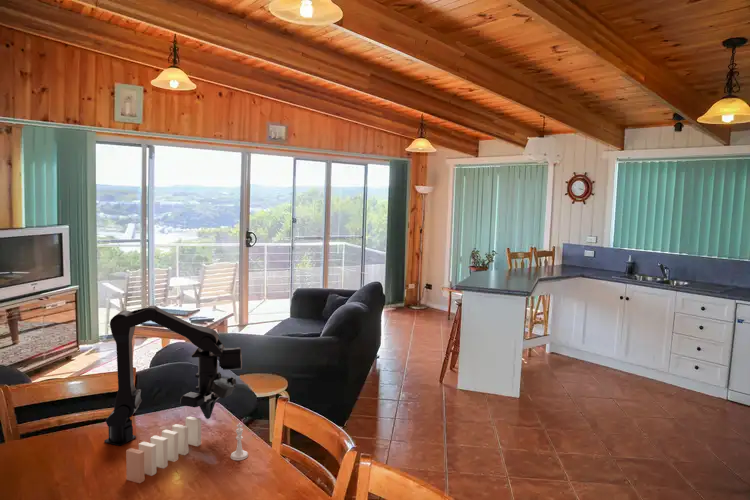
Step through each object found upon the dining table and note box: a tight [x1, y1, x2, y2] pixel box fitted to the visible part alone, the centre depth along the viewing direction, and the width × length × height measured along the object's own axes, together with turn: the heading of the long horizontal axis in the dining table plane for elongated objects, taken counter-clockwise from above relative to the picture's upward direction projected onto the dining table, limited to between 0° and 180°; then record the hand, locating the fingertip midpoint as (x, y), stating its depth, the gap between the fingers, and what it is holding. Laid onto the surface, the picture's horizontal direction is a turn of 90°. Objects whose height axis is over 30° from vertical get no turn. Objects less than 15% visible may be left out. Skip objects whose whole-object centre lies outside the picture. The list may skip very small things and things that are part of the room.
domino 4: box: [161, 429, 179, 462], centre depth 149 cm, size 4×2×8 cm, turn 69°
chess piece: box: [230, 422, 249, 461], centre depth 152 cm, size 5×5×10 cm
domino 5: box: [171, 423, 189, 456], centre depth 153 cm, size 4×2×8 cm, turn 69°
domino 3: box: [149, 434, 169, 469], centre depth 145 cm, size 4×2×8 cm, turn 69°
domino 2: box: [138, 441, 157, 477], centre depth 141 cm, size 4×2×8 cm, turn 69°
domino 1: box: [125, 447, 146, 484], centre depth 137 cm, size 4×2×8 cm, turn 69°
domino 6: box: [184, 415, 202, 447], centre depth 159 cm, size 4×2×8 cm, turn 69°
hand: (208, 418), depth 165 cm, fingers closed
